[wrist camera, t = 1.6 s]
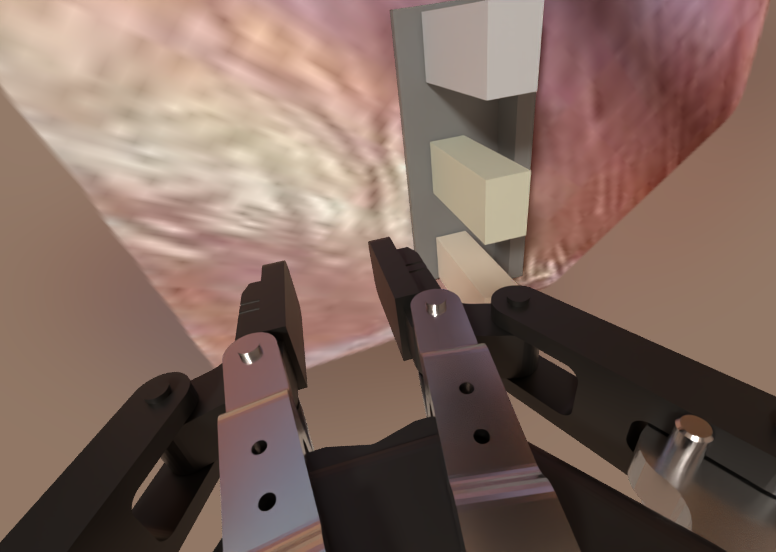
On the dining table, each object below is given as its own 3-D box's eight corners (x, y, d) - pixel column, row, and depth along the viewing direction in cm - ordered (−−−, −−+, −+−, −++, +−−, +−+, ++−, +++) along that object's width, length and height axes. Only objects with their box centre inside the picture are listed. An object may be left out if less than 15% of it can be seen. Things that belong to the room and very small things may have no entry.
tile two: (433, 193, 46) (485, 244, 35) (429, 141, 43) (485, 180, 31) (467, 185, 47) (530, 234, 35) (467, 134, 44) (535, 169, 32)
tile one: (438, 276, 53) (483, 343, 41) (436, 237, 50) (484, 298, 38) (469, 269, 53) (521, 333, 42) (468, 230, 50) (525, 287, 39)
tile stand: (417, 279, 54) (428, 299, 50) (389, 10, 37) (403, 7, 33) (504, 258, 56) (522, 275, 51) (515, -9, 39) (544, -14, 35)
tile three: (426, 82, 40) (486, 100, 28) (421, 11, 37) (487, -1, 25) (466, 75, 40) (542, 90, 29) (465, 5, 37) (550, -10, 26)
